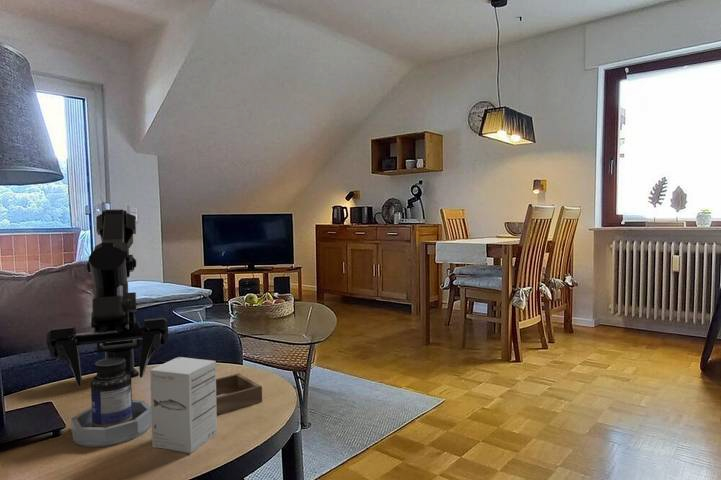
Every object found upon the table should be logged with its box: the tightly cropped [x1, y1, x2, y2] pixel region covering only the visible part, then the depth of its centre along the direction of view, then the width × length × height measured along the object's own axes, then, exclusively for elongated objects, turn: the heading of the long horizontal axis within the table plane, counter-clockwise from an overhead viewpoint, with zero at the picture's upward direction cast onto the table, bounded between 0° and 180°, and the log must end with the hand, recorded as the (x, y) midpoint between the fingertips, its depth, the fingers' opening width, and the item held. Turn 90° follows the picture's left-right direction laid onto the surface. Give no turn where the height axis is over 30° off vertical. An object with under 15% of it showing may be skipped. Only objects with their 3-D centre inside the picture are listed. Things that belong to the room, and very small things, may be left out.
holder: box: [216, 372, 263, 416], centre depth 93 cm, size 10×10×3 cm
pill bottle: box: [90, 357, 133, 428], centre depth 81 cm, size 6×6×11 cm
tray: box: [70, 399, 152, 448], centre depth 81 cm, size 12×12×3 cm
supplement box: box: [149, 356, 218, 454], centre depth 77 cm, size 7×7×13 cm
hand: (110, 380), depth 80 cm, fingers open, 9 cm apart
